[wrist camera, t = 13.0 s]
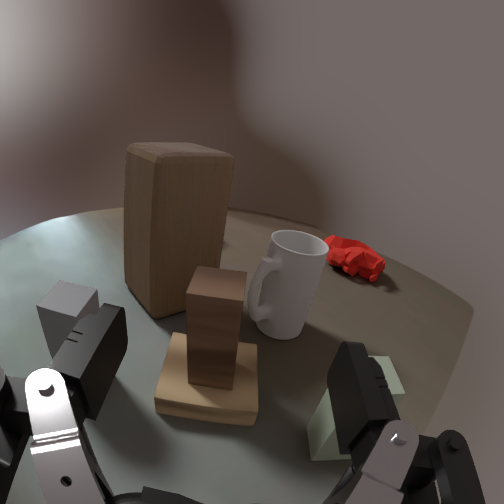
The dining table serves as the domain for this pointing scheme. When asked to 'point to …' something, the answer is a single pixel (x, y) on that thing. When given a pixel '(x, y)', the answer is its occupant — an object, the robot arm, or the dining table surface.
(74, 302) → the grey post
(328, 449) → the sage post
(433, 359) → the dining table surface
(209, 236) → the wooden block
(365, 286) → the dining table surface
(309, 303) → the mug
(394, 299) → the dining table surface
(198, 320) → the walnut post
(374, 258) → the animal figurine
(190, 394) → the oak slab
